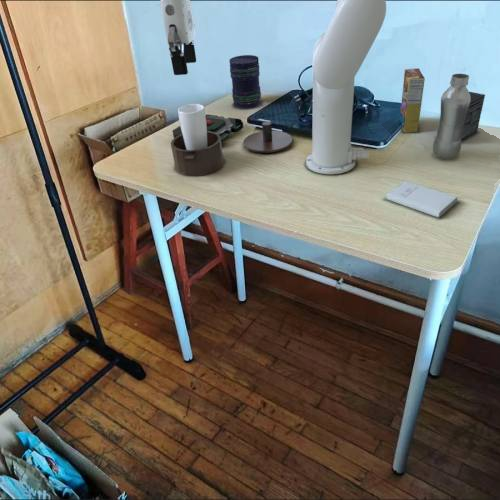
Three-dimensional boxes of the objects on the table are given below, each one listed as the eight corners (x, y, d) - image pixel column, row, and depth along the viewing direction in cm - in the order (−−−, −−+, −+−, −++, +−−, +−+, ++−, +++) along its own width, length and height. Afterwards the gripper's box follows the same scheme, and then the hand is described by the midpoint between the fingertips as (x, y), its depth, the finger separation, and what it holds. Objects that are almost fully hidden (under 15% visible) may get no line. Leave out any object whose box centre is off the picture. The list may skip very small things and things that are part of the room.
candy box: (398, 121, 137) (404, 68, 127) (413, 120, 136) (420, 67, 127) (402, 132, 130) (409, 78, 120) (417, 132, 129) (426, 77, 120)
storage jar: (267, 104, 157) (264, 58, 148) (242, 111, 153) (238, 65, 144) (251, 97, 164) (248, 53, 155) (228, 103, 160) (223, 59, 151)
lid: (293, 133, 135) (292, 113, 131) (291, 154, 124) (291, 132, 120) (246, 134, 137) (244, 114, 133) (240, 155, 126) (238, 134, 122)
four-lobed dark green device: (217, 151, 129) (215, 136, 126) (167, 142, 137) (164, 127, 134) (248, 127, 141) (247, 113, 138) (201, 120, 149) (199, 106, 146)
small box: (456, 126, 130) (464, 89, 124) (478, 132, 126) (487, 94, 120) (434, 137, 126) (441, 99, 119) (456, 144, 121) (464, 105, 115)
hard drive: (438, 218, 94) (385, 199, 102) (456, 202, 99) (404, 185, 106) (439, 212, 93) (386, 193, 101) (458, 196, 98) (405, 179, 105)
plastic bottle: (450, 164, 113) (466, 82, 101) (425, 156, 117) (439, 76, 105) (464, 155, 116) (482, 75, 104) (440, 148, 120) (454, 70, 108)
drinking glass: (208, 169, 120) (200, 113, 111) (183, 168, 121) (173, 113, 112) (214, 157, 125) (207, 103, 116) (191, 157, 126) (182, 103, 117)
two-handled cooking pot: (227, 149, 130) (225, 125, 125) (217, 180, 115) (214, 155, 111) (183, 150, 131) (179, 127, 127) (167, 181, 117) (162, 156, 112)
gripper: (179, -10, 90) (193, 78, 101) (196, -21, 104) (207, 57, 114) (143, -7, 91) (161, 80, 102) (165, -19, 105) (178, 59, 115)
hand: (185, 68), depth 108 cm, fingers open, 9 cm apart
